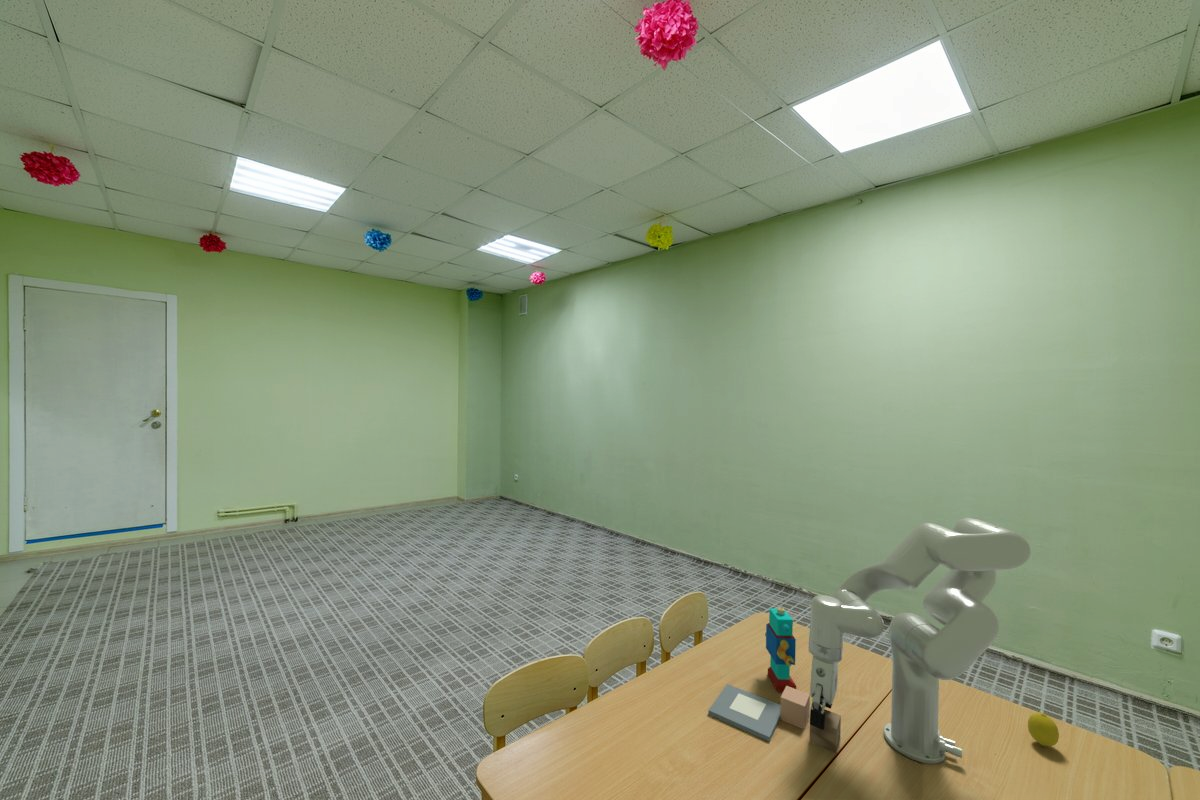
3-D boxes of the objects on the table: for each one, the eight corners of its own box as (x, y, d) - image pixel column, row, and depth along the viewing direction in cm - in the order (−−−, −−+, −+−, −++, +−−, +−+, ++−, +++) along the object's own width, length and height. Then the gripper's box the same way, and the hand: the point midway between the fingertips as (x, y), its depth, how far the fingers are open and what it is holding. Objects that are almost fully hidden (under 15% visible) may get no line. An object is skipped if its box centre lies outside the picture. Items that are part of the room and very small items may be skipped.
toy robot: (798, 695, 130) (800, 609, 130) (777, 695, 130) (779, 608, 130) (783, 671, 142) (784, 591, 141) (763, 670, 142) (765, 591, 141)
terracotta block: (809, 716, 122) (809, 694, 122) (804, 729, 117) (804, 706, 117) (785, 707, 125) (786, 685, 125) (780, 719, 121) (780, 697, 120)
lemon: (1048, 756, 109) (1049, 723, 109) (1021, 739, 114) (1022, 708, 114) (1064, 752, 111) (1065, 719, 111) (1037, 735, 116) (1038, 704, 116)
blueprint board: (784, 710, 124) (784, 706, 124) (769, 742, 112) (769, 737, 112) (727, 687, 133) (727, 683, 133) (708, 714, 122) (708, 709, 122)
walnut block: (840, 739, 114) (840, 715, 114) (836, 754, 109) (836, 729, 109) (814, 728, 117) (814, 705, 117) (809, 742, 113) (809, 718, 113)
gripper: (836, 670, 104) (831, 743, 104) (847, 639, 118) (842, 704, 118) (801, 657, 108) (796, 728, 108) (815, 629, 122) (811, 692, 122)
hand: (820, 715), depth 113 cm, fingers open, 9 cm apart
